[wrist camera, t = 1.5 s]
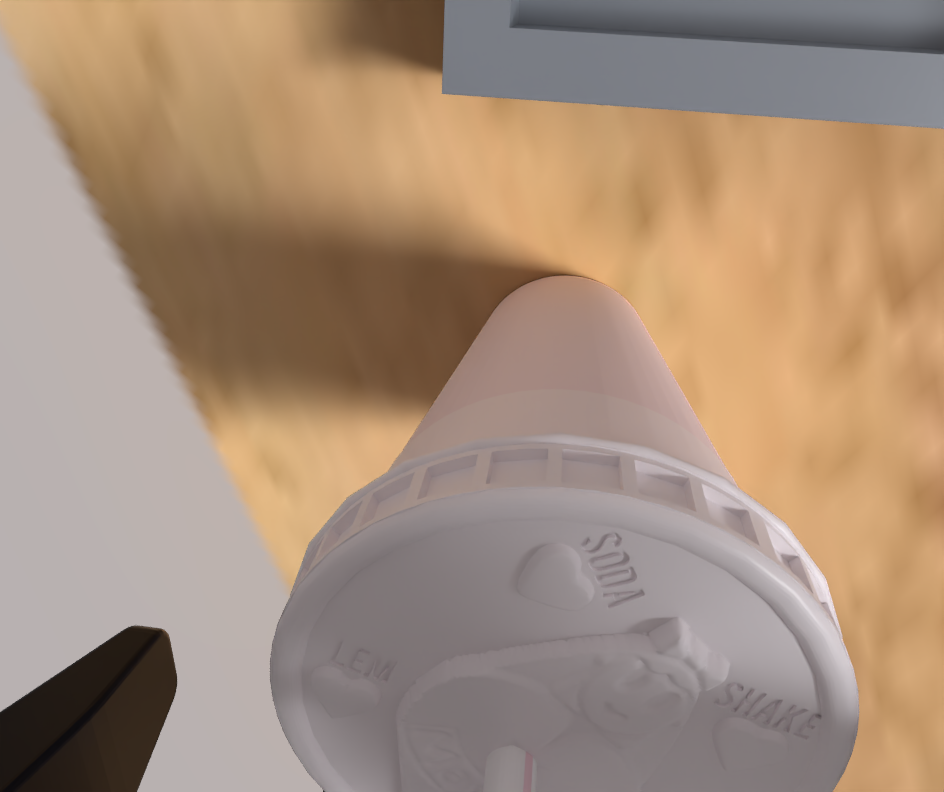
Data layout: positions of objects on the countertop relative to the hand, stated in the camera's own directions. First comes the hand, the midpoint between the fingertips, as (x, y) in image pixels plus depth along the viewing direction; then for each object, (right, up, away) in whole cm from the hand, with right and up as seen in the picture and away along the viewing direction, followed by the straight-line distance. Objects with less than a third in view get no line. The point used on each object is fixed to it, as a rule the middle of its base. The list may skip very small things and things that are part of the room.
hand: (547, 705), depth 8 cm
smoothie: (+1, +4, +8) cm, 10 cm away
